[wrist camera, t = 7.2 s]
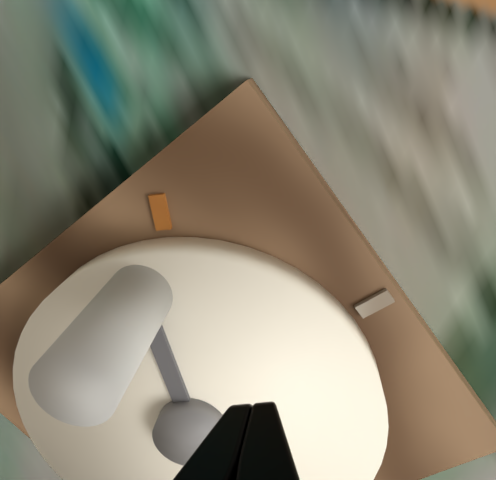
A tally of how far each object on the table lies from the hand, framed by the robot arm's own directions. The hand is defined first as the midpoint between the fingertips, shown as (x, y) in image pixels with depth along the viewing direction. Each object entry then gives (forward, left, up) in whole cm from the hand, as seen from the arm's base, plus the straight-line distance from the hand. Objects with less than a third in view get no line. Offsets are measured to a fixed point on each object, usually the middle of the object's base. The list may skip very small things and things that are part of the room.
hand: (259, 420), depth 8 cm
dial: (-8, -4, -9) cm, 13 cm away
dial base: (-8, -4, -10) cm, 14 cm away
